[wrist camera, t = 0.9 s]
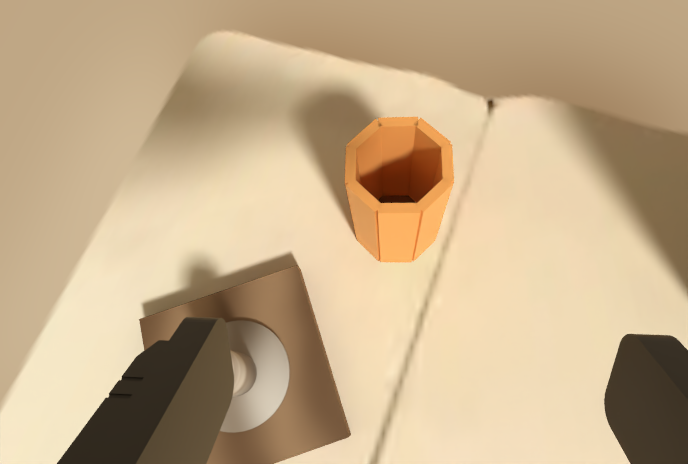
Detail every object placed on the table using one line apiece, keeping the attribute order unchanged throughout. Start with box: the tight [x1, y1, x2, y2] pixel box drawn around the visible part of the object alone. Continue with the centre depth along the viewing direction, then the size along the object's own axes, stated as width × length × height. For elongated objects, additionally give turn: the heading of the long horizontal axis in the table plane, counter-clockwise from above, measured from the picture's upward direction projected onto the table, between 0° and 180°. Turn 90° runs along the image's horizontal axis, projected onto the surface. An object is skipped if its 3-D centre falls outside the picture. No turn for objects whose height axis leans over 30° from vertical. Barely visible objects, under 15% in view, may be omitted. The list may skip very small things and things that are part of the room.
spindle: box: [139, 265, 351, 464], centre depth 28 cm, size 12×12×8 cm
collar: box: [345, 117, 454, 262], centre depth 30 cm, size 6×6×10 cm
